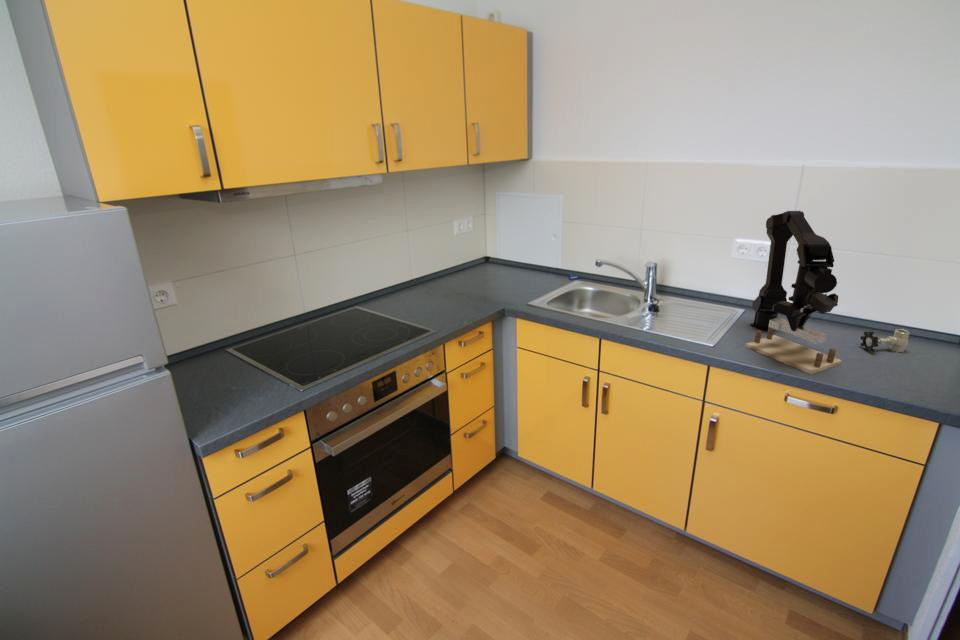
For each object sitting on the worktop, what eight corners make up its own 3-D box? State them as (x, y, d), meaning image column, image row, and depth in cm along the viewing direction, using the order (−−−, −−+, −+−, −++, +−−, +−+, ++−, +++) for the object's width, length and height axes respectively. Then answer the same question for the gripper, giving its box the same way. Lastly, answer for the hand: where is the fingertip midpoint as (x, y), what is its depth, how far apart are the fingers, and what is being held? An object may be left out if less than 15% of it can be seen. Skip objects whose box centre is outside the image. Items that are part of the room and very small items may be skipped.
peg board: (744, 346, 164) (747, 332, 162) (773, 338, 170) (776, 324, 168) (811, 374, 146) (815, 358, 144) (840, 363, 151) (844, 348, 149)
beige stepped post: (768, 326, 161) (769, 319, 160) (776, 324, 162) (778, 317, 161) (816, 344, 148) (818, 336, 147) (825, 341, 149) (827, 334, 148)
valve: (895, 345, 162) (857, 346, 162) (901, 326, 159) (862, 327, 159) (911, 354, 156) (872, 355, 156) (917, 335, 153) (877, 336, 153)
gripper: (813, 295, 138) (802, 346, 144) (854, 284, 146) (841, 333, 151) (776, 284, 148) (766, 332, 154) (816, 274, 155) (805, 321, 161)
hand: (796, 330), depth 155 cm, fingers closed on beige stepped post, 2 cm apart
